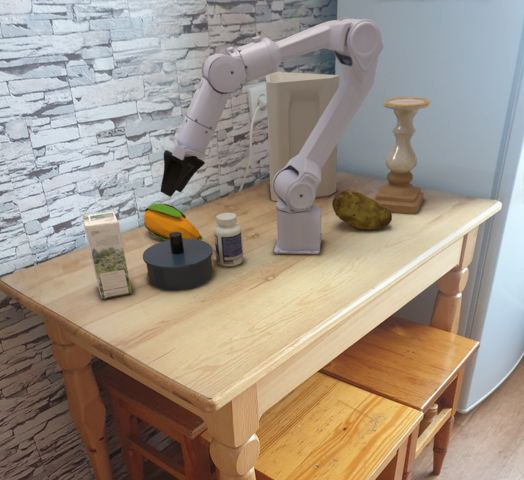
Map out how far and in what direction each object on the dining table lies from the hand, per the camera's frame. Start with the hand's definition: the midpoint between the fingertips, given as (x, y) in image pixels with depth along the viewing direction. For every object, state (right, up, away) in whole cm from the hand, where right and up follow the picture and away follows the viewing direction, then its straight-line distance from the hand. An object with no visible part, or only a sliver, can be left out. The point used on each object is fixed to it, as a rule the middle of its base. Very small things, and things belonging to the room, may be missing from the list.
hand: (171, 191), depth 107 cm
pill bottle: (+11, -12, +9) cm, 18 cm away
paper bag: (+25, +12, +44) cm, 52 cm away
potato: (+40, -2, +21) cm, 45 cm away
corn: (-2, -5, +20) cm, 21 cm away
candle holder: (+51, +6, +32) cm, 60 cm away
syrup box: (-10, -19, 0) cm, 22 cm away
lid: (+1, -12, +1) cm, 12 cm away
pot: (+1, -15, +4) cm, 16 cm away
